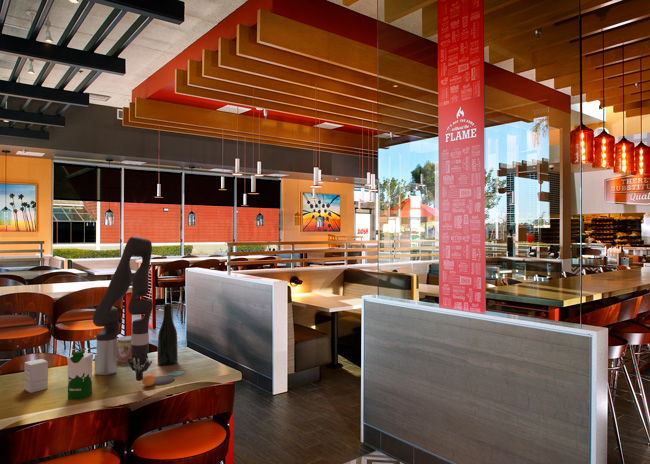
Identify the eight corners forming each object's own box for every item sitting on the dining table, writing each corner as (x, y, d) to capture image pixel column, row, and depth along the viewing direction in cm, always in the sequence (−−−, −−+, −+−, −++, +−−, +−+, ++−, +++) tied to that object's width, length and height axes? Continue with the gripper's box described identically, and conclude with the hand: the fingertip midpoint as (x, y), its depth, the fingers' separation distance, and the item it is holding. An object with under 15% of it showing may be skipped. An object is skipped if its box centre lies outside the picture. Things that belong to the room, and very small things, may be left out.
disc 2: (165, 375, 226) (165, 375, 226) (172, 371, 234) (172, 370, 234) (180, 376, 225) (180, 376, 225) (187, 371, 233) (187, 371, 233)
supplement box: (42, 385, 212) (42, 358, 212) (48, 388, 207) (48, 361, 207) (23, 389, 206) (24, 361, 206) (29, 393, 201) (30, 364, 201)
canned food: (113, 361, 251) (113, 340, 251) (123, 356, 262) (123, 335, 262) (133, 362, 251) (133, 340, 251) (142, 356, 262) (142, 335, 262)
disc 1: (138, 385, 213) (138, 384, 213) (153, 375, 227) (153, 375, 227) (166, 386, 211) (166, 385, 211) (179, 376, 225) (179, 376, 225)
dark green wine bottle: (161, 360, 254) (162, 301, 254) (180, 360, 253) (180, 301, 253) (154, 366, 243) (154, 304, 243) (173, 366, 243) (173, 304, 243)
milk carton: (64, 400, 193) (64, 353, 193) (75, 393, 202) (75, 348, 202) (85, 400, 193) (85, 353, 193) (95, 392, 202) (95, 347, 202)
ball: (145, 370, 212) (153, 374, 216) (137, 381, 210) (146, 384, 214) (151, 375, 209) (159, 379, 213) (143, 386, 207) (152, 389, 211)
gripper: (157, 342, 208) (156, 380, 208) (135, 339, 213) (134, 376, 213) (144, 346, 201) (144, 385, 201) (122, 342, 207) (121, 380, 207)
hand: (139, 380), depth 207 cm, fingers closed
